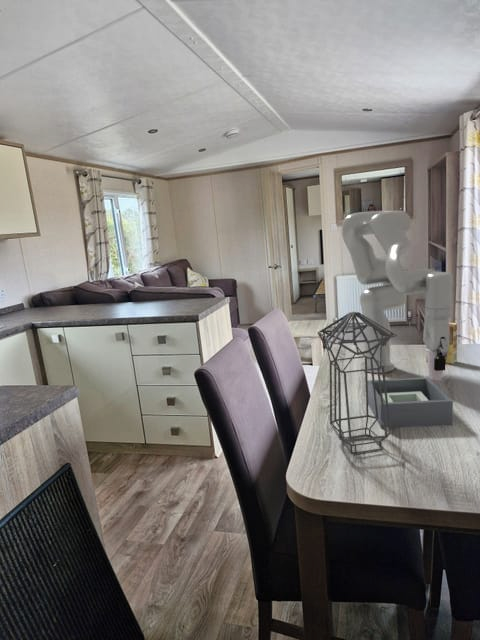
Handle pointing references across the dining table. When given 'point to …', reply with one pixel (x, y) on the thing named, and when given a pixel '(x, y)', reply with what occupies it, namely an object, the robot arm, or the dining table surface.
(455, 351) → the candy box
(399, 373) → the dining table surface
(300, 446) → the dining table surface
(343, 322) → the geometric lantern
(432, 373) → the smoothie
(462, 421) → the dining table surface
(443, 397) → the bin
